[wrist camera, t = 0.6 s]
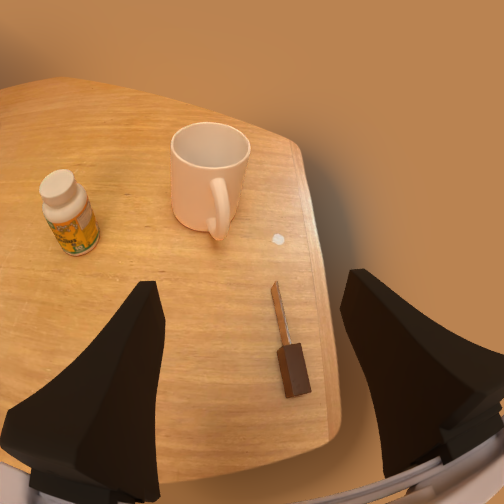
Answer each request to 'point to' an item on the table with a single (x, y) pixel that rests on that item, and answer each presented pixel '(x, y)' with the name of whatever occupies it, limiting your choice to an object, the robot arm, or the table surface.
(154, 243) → the table surface
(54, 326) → the table surface
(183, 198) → the mug
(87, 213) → the supplement bottle
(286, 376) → the knife
